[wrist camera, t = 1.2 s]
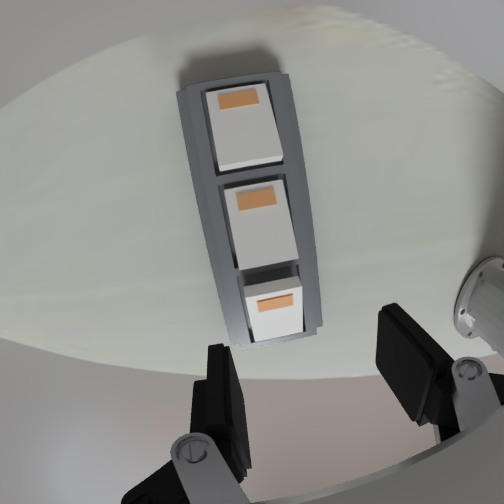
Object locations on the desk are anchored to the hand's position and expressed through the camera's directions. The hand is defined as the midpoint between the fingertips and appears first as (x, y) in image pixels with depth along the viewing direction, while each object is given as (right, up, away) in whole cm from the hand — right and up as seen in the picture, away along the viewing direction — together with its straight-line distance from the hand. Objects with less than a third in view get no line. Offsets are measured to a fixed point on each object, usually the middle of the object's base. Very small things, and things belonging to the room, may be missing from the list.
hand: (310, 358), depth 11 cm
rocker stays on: (-3, +13, +9) cm, 16 cm away
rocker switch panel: (-2, +8, +16) cm, 18 cm away
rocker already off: (0, -1, +14) cm, 14 cm away
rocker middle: (-2, +6, +12) cm, 13 cm away
